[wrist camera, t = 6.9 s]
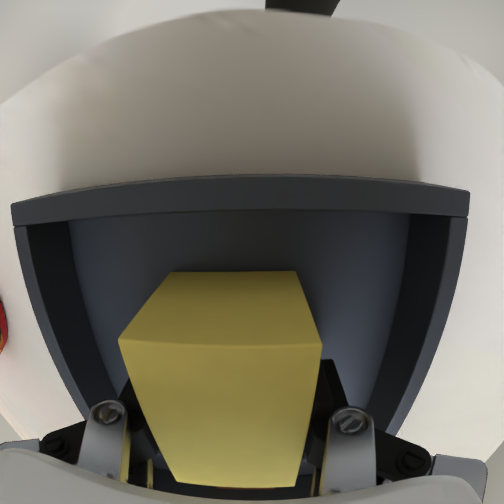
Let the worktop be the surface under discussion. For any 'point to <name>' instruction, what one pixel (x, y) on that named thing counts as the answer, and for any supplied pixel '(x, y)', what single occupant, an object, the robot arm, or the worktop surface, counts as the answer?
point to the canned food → (2, 329)
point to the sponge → (226, 375)
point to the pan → (250, 260)
